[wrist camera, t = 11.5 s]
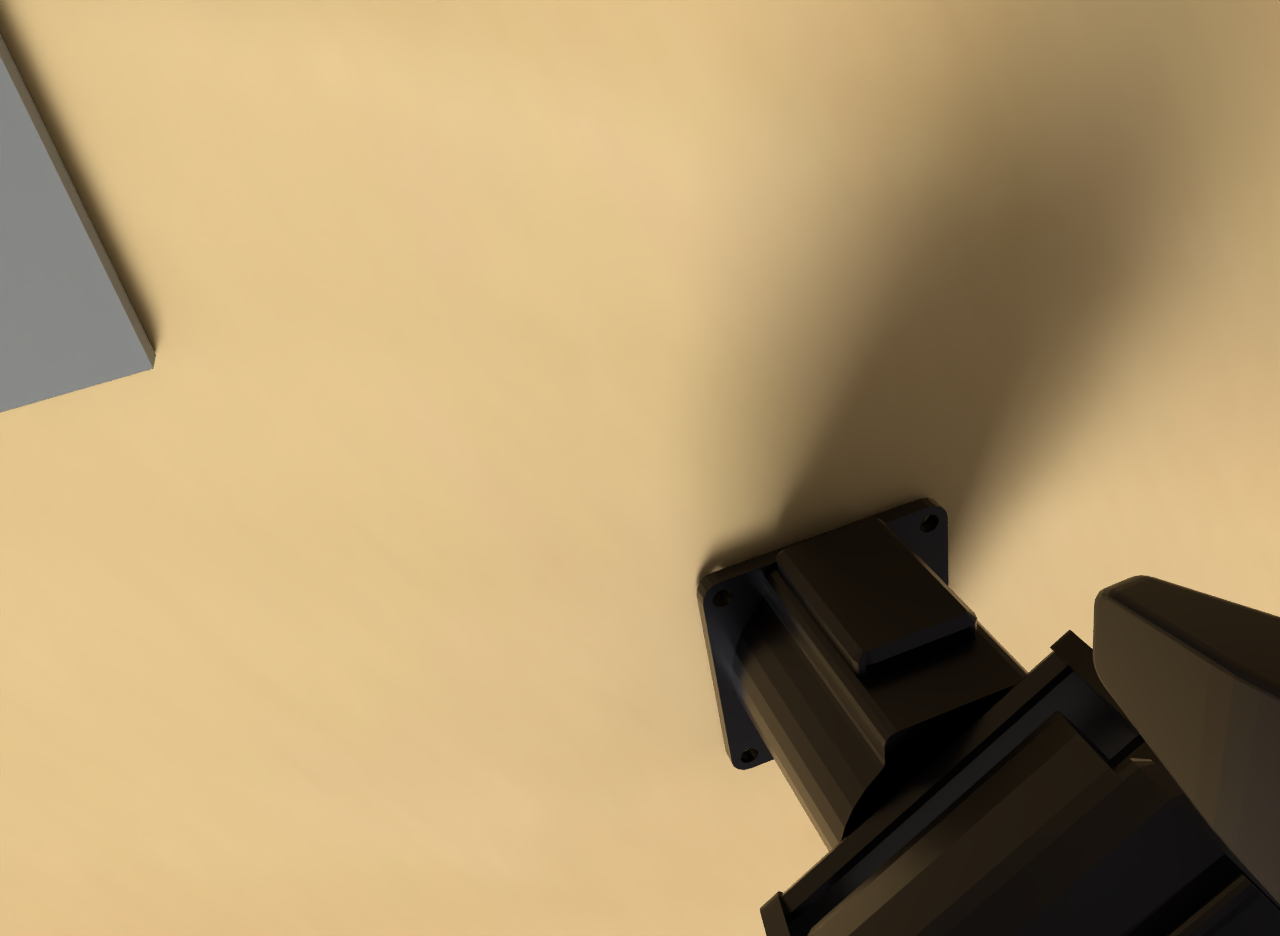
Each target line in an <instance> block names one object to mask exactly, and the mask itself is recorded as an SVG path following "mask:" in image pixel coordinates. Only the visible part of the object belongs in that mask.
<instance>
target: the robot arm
mask: <svg viewBox="0 0 1280 936" xmlns="http://www.w3.org/2000/svg"><path fill="white" fill-rule="evenodd" d="M927 516H929V517H928V518H927V520H926V521H924V522H923V523H921V522H922V521H923V519H924V518H925V517H927ZM724 589H726V590H725V591H724V593H723V594H722V595H720V596H718V597H714V595H715V594H716V593H717V592H719V591H720V590H724ZM697 599H698V604H699V610H700V615H701V620H702V626H703V631H704V636H705V642H706V647H707V653H708V658H709V663H710V669H711V674H712V679H713V685H714V690H715V695H716V701H717V706H718V711H719V717H720V722H721V728H722V733H723V738H724V744H725V749H726V753H727V755H728V757H729V758H730V760H731V762H732V764H733V766H734V767H735V768H737V769H741V770H746V769H750V768H753V767H755V766H758V765H760V764H763V763H766V762H768V761H771V760H773V759H774V760H775V761H776V763H777V765H778V766H779V768H780V770H781V771H782V773H783V775H784V776H785V778H786V780H787V781H788V783H789V785H790V786H791V788H792V790H793V792H794V793H795V795H796V797H797V798H798V800H799V802H800V803H801V805H802V807H803V808H804V810H805V812H806V813H807V815H808V817H809V818H810V820H811V822H812V824H813V825H814V827H815V829H816V830H817V832H818V834H819V835H820V837H821V839H822V840H823V842H824V844H825V845H826V847H827V849H828V851H829V853H827V854H826V855H825V856H824V857H823V858H822V859H821V860H820V861H819V862H817V863H816V864H815V865H814V866H813V867H812V868H811V869H810V870H809V871H807V872H806V873H805V874H804V875H803V876H802V877H801V878H800V879H799V880H797V881H796V882H795V883H794V884H793V885H792V886H791V887H790V888H789V889H787V890H786V891H785V892H784V893H783V892H780V891H779V892H777V893H776V894H775V895H774V896H773V897H772V898H771V899H770V900H769V901H767V902H766V903H765V904H764V905H763V906H762V907H761V908H760V913H761V917H762V920H763V924H764V928H765V931H766V935H767V936H1280V617H1278V616H1275V615H1272V614H1269V613H1266V612H1262V611H1259V610H1256V609H1253V608H1250V607H1246V606H1243V605H1240V604H1237V603H1234V602H1231V601H1227V600H1224V599H1221V598H1218V597H1215V596H1211V595H1208V594H1205V593H1202V592H1199V591H1196V590H1192V589H1189V588H1186V587H1183V586H1180V585H1176V584H1173V583H1170V582H1167V581H1164V580H1161V579H1157V578H1154V577H1150V576H1143V575H1140V576H1134V577H1131V578H1128V579H1126V580H1123V581H1121V582H1119V583H1116V584H1114V585H1111V586H1109V587H1107V588H1104V589H1103V590H1101V591H1100V592H1099V593H1098V595H1097V597H1096V599H1095V603H1094V631H1093V649H1092V648H1091V647H1089V646H1088V645H1087V644H1086V643H1085V642H1084V641H1082V640H1081V639H1080V638H1079V637H1078V636H1077V635H1076V634H1074V633H1073V632H1072V631H1071V630H1069V631H1068V632H1066V633H1065V634H1064V635H1063V636H1062V637H1061V638H1060V639H1059V640H1058V641H1056V642H1055V643H1054V644H1053V645H1052V646H1051V647H1050V648H1051V649H1052V650H1053V651H1052V652H1051V653H1050V654H1049V655H1048V656H1047V657H1046V658H1045V659H1043V660H1042V661H1041V662H1040V663H1039V664H1038V665H1037V666H1036V667H1035V668H1033V669H1032V670H1031V671H1030V672H1029V673H1028V672H1027V671H1026V670H1025V669H1024V668H1023V667H1022V666H1021V665H1020V664H1019V663H1018V662H1017V661H1016V660H1015V659H1014V658H1013V656H1012V655H1011V654H1010V653H1009V652H1008V651H1007V650H1006V649H1005V648H1004V647H1003V646H1002V645H1001V644H1000V643H999V642H998V641H997V640H996V639H995V638H994V637H993V636H992V635H991V634H990V633H989V632H988V631H987V630H986V629H985V628H984V627H983V626H982V625H981V624H980V623H979V622H978V621H977V617H976V615H975V613H974V612H973V611H972V610H971V609H970V608H969V607H968V606H967V605H966V604H965V603H964V602H963V601H962V600H961V599H960V598H959V597H958V596H957V595H956V594H955V593H954V592H953V591H952V590H951V589H950V588H949V587H948V517H947V513H946V511H945V510H944V509H943V508H942V507H941V506H940V505H939V504H938V503H937V502H936V501H934V500H933V499H930V498H923V499H919V500H916V501H913V502H910V503H907V504H905V505H902V506H899V507H896V508H893V509H891V510H888V511H885V512H882V513H879V514H876V515H874V516H871V517H868V518H865V519H862V520H860V521H857V522H854V523H851V524H848V525H846V526H843V527H840V528H837V529H834V530H831V531H829V532H826V533H823V534H820V535H817V536H815V537H812V538H809V539H806V540H803V541H801V542H798V543H795V544H792V545H789V546H786V547H784V548H781V549H778V550H775V551H772V552H770V553H767V554H764V555H761V556H758V557H756V558H753V559H750V560H747V561H744V562H742V563H739V564H736V565H733V566H730V567H727V568H725V569H722V570H719V571H716V572H713V573H712V574H710V575H708V576H706V577H705V578H704V579H703V580H702V581H701V582H700V584H699V586H698V588H697ZM747 749H748V750H747ZM745 750H746V751H745Z"/></svg>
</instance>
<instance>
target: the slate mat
mask: <svg viewBox="0 0 1280 936" xmlns="http://www.w3.org/2000/svg"><path fill="white" fill-rule="evenodd" d="M155 357H156V354H155V352H154V350H153V348H152V346H151V344H150V342H149V340H148V338H147V336H146V334H145V332H144V329H143V327H142V325H141V323H140V321H139V319H138V317H137V315H136V313H135V311H134V309H133V307H132V305H131V303H130V300H129V298H128V296H127V294H126V292H125V290H124V288H123V286H122V284H121V282H120V280H119V278H118V276H117V274H116V272H115V269H114V267H113V265H112V263H111V261H110V259H109V257H108V255H107V253H106V251H105V249H104V247H103V245H102V243H101V241H100V238H99V236H98V234H97V232H96V230H95V228H94V226H93V224H92V222H91V220H90V218H89V216H88V214H87V212H86V210H85V207H84V205H83V203H82V201H81V199H80V197H79V195H78V193H77V191H76V189H75V187H74V185H73V183H72V181H71V179H70V176H69V174H68V172H67V170H66V168H65V166H64V164H63V162H62V160H61V158H60V156H59V154H58V152H57V150H56V148H55V145H54V143H53V141H52V139H51V137H50V135H49V133H48V131H47V129H46V127H45V125H44V123H43V121H42V119H41V116H40V114H39V112H38V110H37V108H36V106H35V104H34V102H33V100H32V98H31V96H30V94H29V92H28V90H27V88H26V85H25V83H24V81H23V79H22V77H21V75H20V73H19V71H18V69H17V67H16V65H15V63H14V61H13V59H12V57H11V54H10V52H9V50H8V48H7V46H6V44H5V42H4V40H3V38H2V36H1V34H0V412H4V411H7V410H11V409H14V408H18V407H21V406H25V405H28V404H32V403H35V402H39V401H42V400H46V399H49V398H52V397H56V396H59V395H63V394H66V393H70V392H73V391H77V390H80V389H84V388H87V387H91V386H94V385H98V384H101V383H105V382H108V381H112V380H115V379H119V378H122V377H126V376H129V375H132V374H136V373H139V372H143V371H146V370H150V369H153V367H154V362H155Z"/></svg>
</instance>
